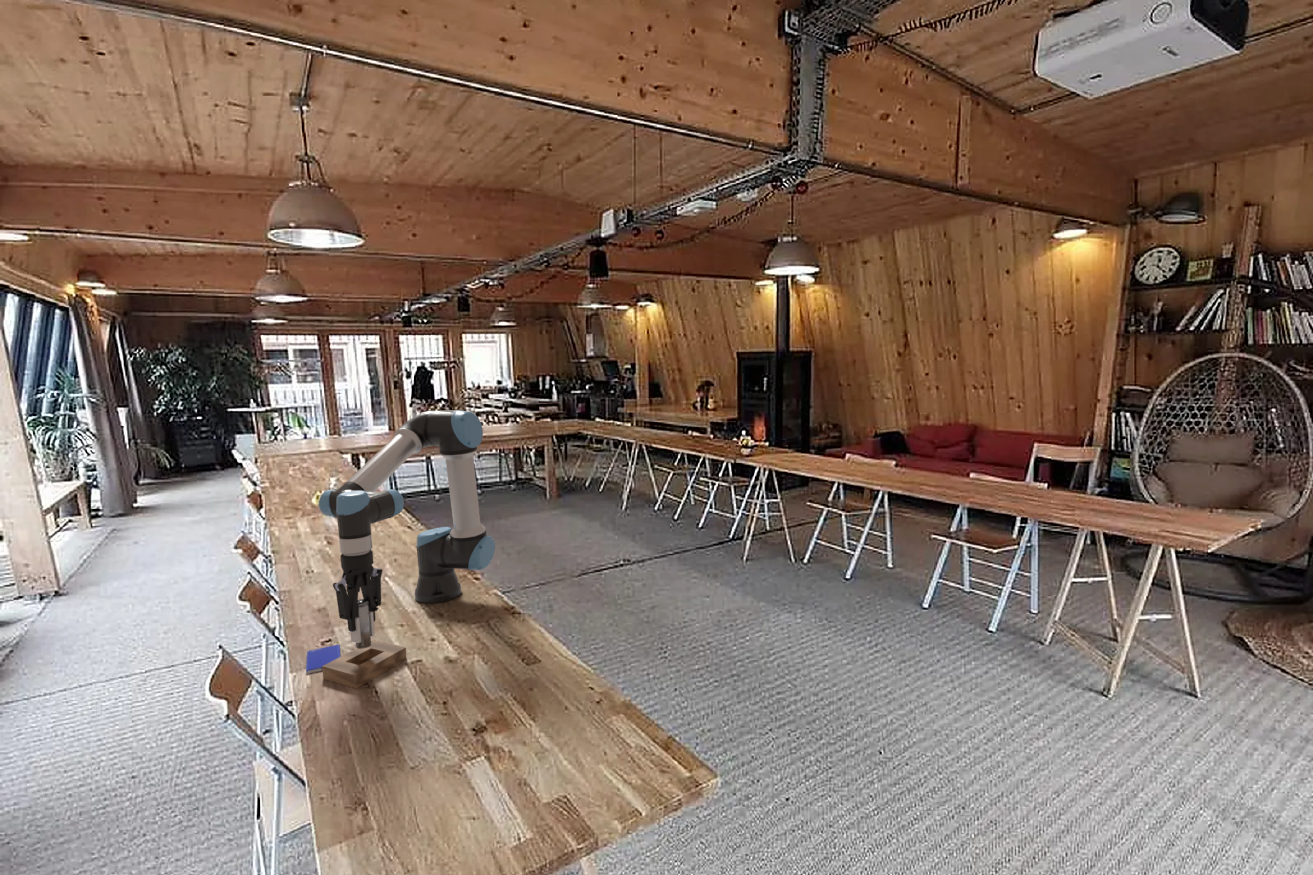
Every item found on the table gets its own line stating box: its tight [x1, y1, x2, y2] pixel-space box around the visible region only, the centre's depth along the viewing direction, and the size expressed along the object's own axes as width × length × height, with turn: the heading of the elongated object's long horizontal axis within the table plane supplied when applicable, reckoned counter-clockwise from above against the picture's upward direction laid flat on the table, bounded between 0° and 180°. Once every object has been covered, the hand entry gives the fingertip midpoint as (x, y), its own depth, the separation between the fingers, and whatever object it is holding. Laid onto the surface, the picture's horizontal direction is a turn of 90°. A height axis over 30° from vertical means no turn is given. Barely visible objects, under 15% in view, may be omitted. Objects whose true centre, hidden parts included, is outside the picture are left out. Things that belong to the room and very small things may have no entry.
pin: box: [355, 598, 372, 649], centre depth 160 cm, size 4×4×12 cm
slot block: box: [322, 639, 408, 689], centre depth 162 cm, size 16×12×4 cm
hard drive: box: [305, 644, 341, 675], centre depth 167 cm, size 2×8×12 cm
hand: (363, 638), depth 161 cm, fingers closed on pin, 4 cm apart
